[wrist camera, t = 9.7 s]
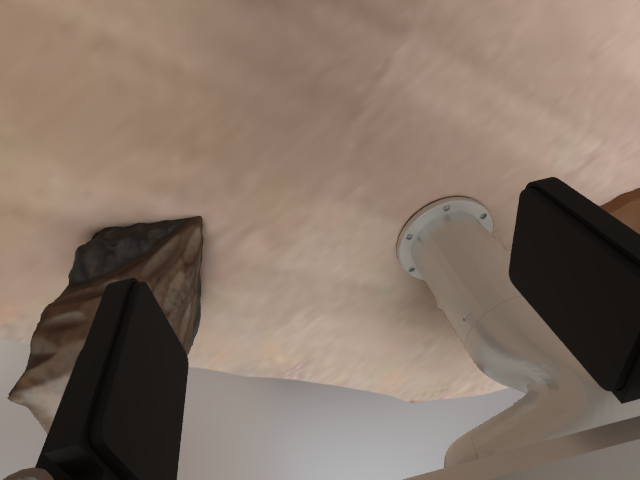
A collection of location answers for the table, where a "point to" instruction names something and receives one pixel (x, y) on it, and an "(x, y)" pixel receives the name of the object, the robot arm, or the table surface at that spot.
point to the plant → (626, 209)
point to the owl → (86, 293)
